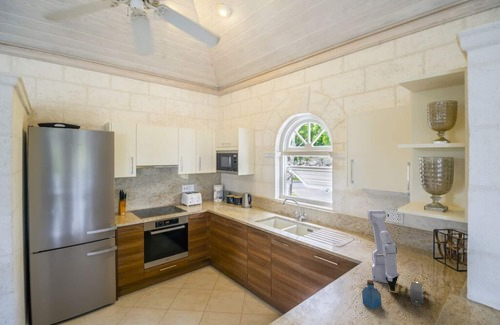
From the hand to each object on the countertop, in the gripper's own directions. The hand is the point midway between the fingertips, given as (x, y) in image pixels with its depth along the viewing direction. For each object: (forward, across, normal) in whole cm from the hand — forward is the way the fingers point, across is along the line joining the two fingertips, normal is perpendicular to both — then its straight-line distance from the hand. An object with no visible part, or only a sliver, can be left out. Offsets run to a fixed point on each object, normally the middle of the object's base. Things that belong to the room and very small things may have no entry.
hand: (392, 289), depth 134 cm
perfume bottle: (+2, -19, +7) cm, 20 cm away
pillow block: (+2, 0, -11) cm, 11 cm away
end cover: (+2, 0, -4) cm, 4 cm away
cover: (+2, +11, -12) cm, 16 cm away
